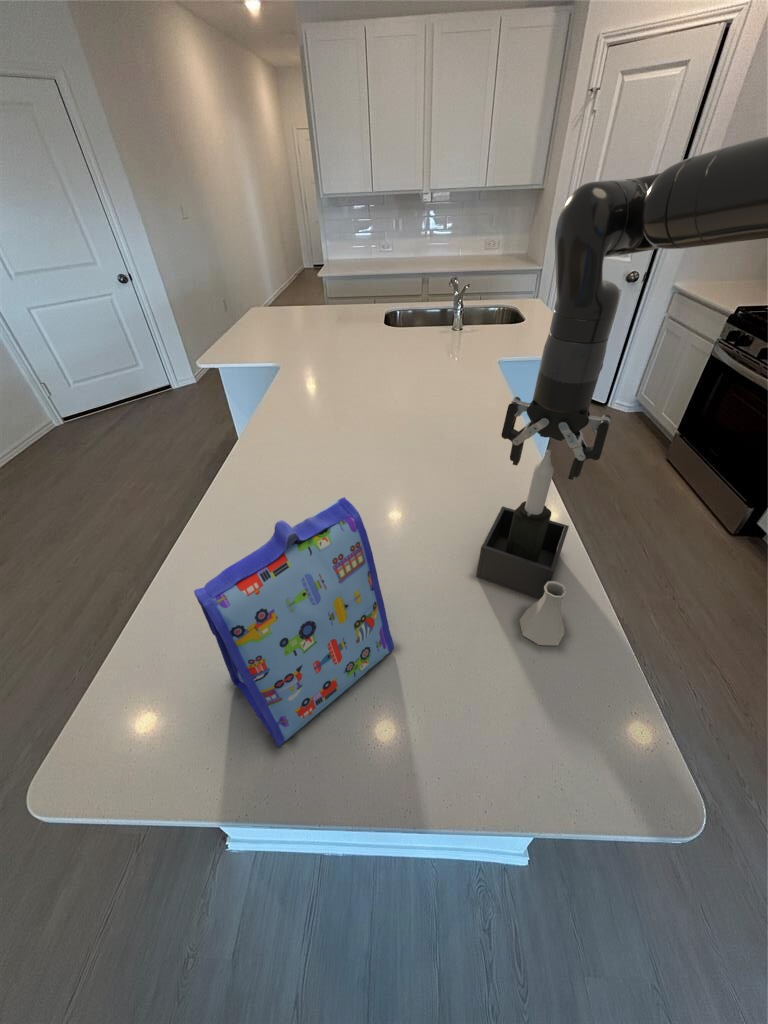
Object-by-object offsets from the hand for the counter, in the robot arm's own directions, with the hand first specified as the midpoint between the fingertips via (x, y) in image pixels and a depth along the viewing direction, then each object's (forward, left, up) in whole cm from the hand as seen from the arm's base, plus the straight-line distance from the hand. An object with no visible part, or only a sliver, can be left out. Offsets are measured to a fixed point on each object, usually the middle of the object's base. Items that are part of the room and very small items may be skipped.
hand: (543, 469), depth 68 cm
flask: (-7, +12, -22) cm, 26 cm away
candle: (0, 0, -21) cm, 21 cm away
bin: (0, 0, -22) cm, 22 cm away
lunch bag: (+22, +35, -22) cm, 47 cm away
